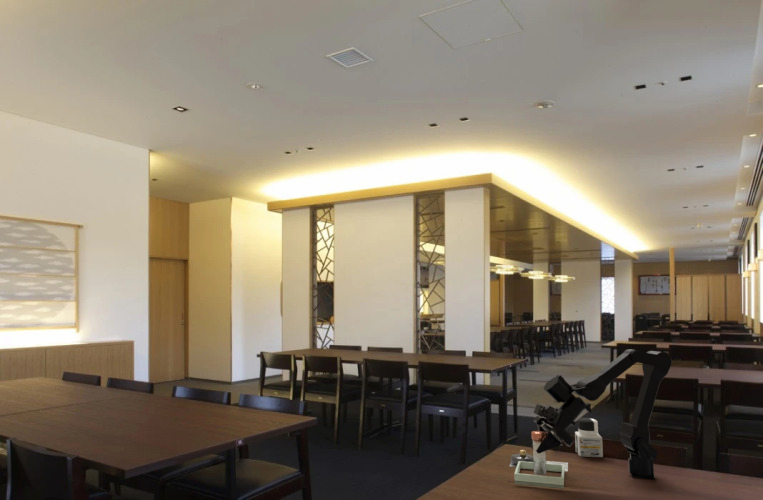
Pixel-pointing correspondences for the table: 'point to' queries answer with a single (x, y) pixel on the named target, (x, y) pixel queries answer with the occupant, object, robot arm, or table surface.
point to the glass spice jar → (538, 457)
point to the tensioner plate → (531, 459)
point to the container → (588, 438)
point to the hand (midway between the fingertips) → (534, 450)
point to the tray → (539, 478)
